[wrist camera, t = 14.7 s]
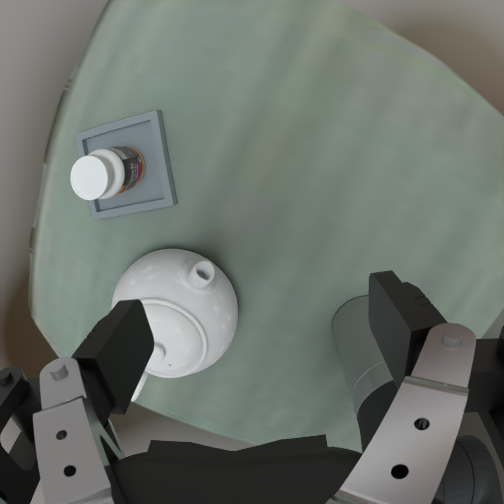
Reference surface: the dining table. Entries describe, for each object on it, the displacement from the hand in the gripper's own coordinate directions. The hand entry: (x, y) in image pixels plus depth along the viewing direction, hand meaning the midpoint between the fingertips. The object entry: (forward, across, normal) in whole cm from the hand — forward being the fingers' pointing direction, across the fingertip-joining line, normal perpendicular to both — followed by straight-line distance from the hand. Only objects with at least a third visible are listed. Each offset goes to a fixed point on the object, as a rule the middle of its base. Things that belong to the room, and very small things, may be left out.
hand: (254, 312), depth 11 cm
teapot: (+30, +14, +15) cm, 37 cm away
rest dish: (+30, +17, -5) cm, 35 cm away
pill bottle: (+30, +17, -5) cm, 34 cm away
